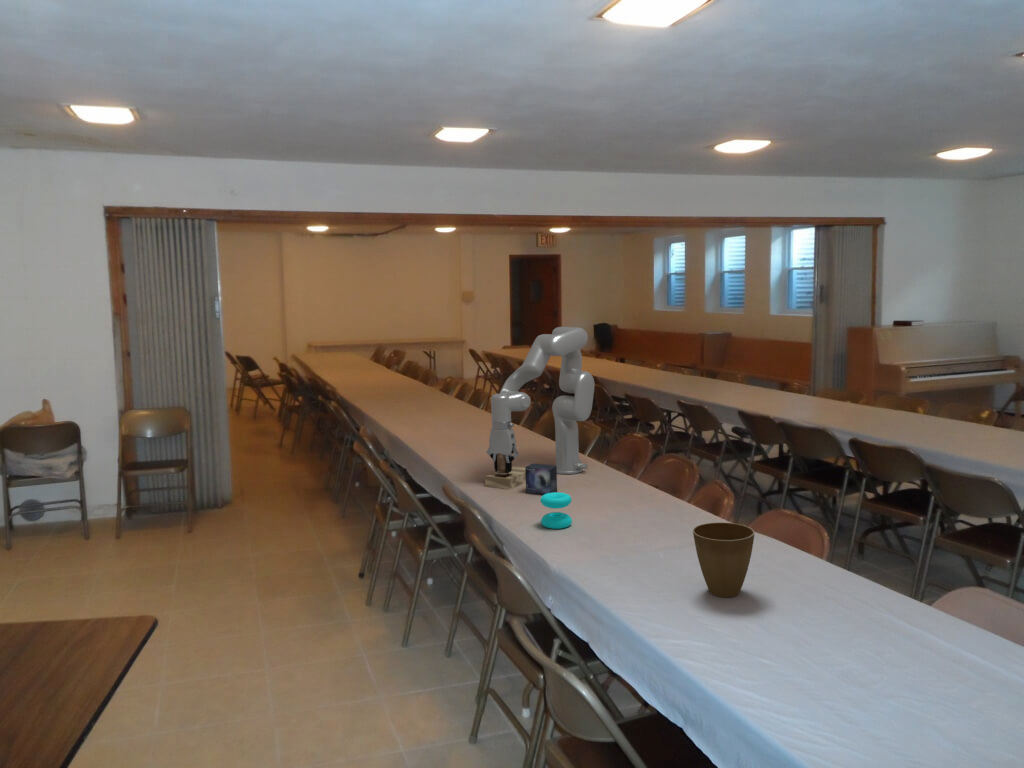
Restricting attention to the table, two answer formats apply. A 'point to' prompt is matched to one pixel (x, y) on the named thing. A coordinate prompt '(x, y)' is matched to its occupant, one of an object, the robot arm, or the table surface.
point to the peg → (501, 466)
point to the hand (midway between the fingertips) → (503, 471)
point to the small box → (541, 479)
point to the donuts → (556, 518)
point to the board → (507, 479)
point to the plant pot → (724, 555)
